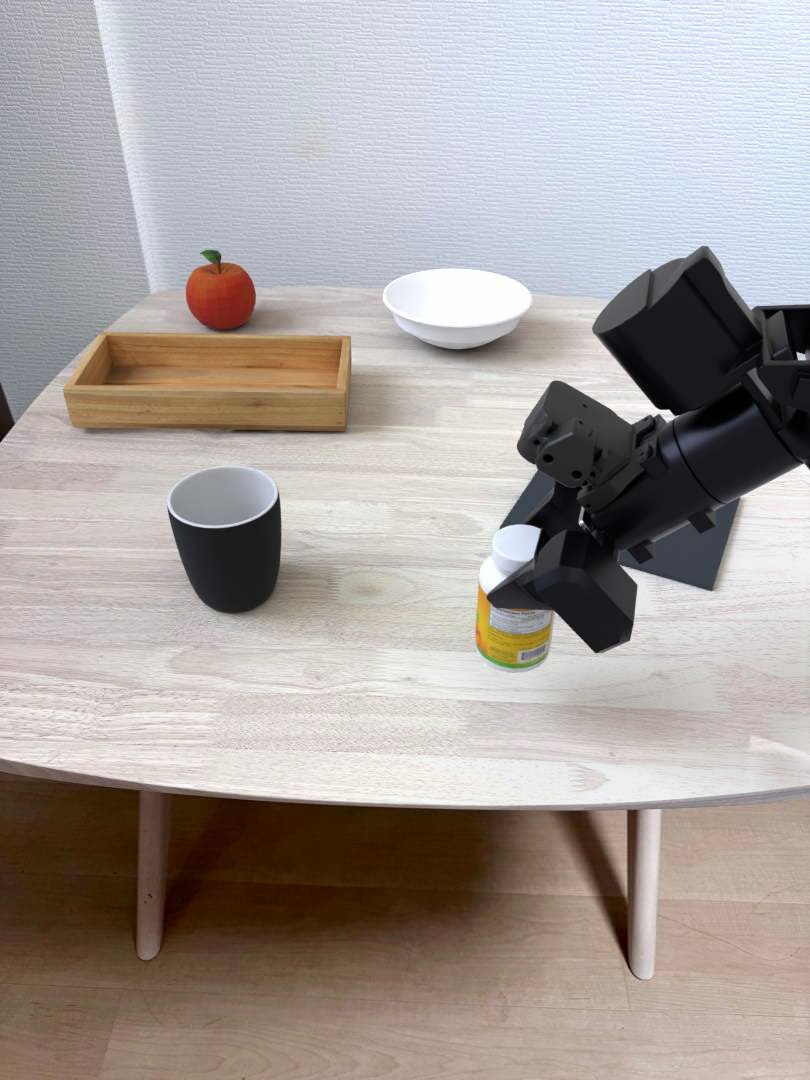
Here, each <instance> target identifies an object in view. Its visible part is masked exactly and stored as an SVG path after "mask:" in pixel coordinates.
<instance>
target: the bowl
mask: <svg viewBox="0 0 810 1080" xmlns="http://www.w3.org/2000/svg"><path fill="white" fill-rule="evenodd" d="M382 300H383V301H382V302H383V303H384V304H385V306H386V307H387V308H388V309H389V310H390V311H391V314H392V317H393V319H394V322H395V323H396V324H397V326H398V327H399V328H401V329H402V330H404V332H407V333H409V334H411V335H412V336H414V337H415V338H417V339H418V340H420V341H423V342H424V343H426V344H430V345H432V346H435V347H439V348H443V349H449V350H464V349H465V350H466V349H472V348H477V347H480V346H484V345H486V344H489V343H491V342H493V341H495V340H497V339H499V338H501V337H504V336H505V335H507V334H510V333H511V332H512V331H514V330H515V329H516V328H517V327H518V325H519V324H520V323H519V322H520V321H521V318H522V316H523V315H524V314H526V312H527V311H529V309H531V307H532V305H533V295H532V293H531V292H530V290H529V289H528V288H527V287H526V285H524V284H522V283H521V282H519V281H517V280H516V279H513V278H511V277H508V276H506V275H502V274H498V273H495V272H491V271H486V270H479V269H471V268H454V267H453V268H434V269H425V270H421V271H416V272H412V273H409V274H405V275H403V276H400V277H398V278H396V279H394V280H393V281H391V282H390V283H389V284H388V285H386V287H385V288H384V290H383V293H382Z"/></svg>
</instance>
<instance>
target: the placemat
mask: <svg viewBox="0 0 810 1080" xmlns="http://www.w3.org/2000/svg"><path fill="white" fill-rule="evenodd" d="M554 484H555V480H554V479H553V478H551V477H549V476H547V475H546V474H544V473H542V472H540V471H539V470H538V469H537V470H536V472H535V474H533V477H531V479H530V480H529V482H528V484H527V485H526V487H525V488H524V490H523V491H522V493H521V494H520V496H518V497H519V498H518V499H517V501H516V502H515V504H514V505H513V506H512V508H511V509H510V511H508V512H509V513H508V514H507V515H506V516H505V518H504V520H503V522H502V523H501V524H500V526H499V530H501V529H502V528H504V527H507V526H511V525H520V524H521V523H522V522H523V521H524V520H525V519H526V518H527V516H528V515H529V514H530V513H531V512H532V511H533V510H534V509H535V508H536V507H537V506H538V504H539V503H540V502H541V501H542V500H543V499H544V498H545V497H546V495H547V494H548V493H549V492H550V491H551V490H552V488H553V487H554ZM740 499H741V497H739V498H737V499H735V500H733V501H731V502H730V503H728V504H726V505H724V506H722V507H720V508H718V509H716V526H715V527H713V528H711V529H709V530H707V531H705V532H703V533H701V534H700V533H699V532H698V531H697V530H696V529H695V528H694V526H693V525H692V524H691V523H689V524H687V525H685V526H684V527H682V528H680V529H678V530H676V531H674V532H672V533H670V534H668V535H666V536H664V537H662V538H660V539H659V540H657V541H655V552H654V558H652V559H650V560H648V561H646V562H644V563H642V564H639V563H638V562H637V561H636V560H635V559H634V558H633V556H632V555H631V554H630V553H629V552H628V551H627V550H625V551H623V552H621V551H620V554H619V561H618V564H619V565H620V566H623V567H626V568H631V569H634V570H637V571H641V572H644V573H648V574H651V575H655V576H659V577H662V578H665V579H668V580H672V581H675V582H679V583H682V584H685V585H689V586H693V587H696V588H700V589H704V590H707V591H710V592H712V591H713V588H714V585H715V582H716V579H717V576H718V572H719V569H720V566H721V562H722V560H723V556H724V553H725V550H726V546H727V542H728V539H729V535H730V533H731V530H732V526H733V523H734V520H735V516H736V513H737V510H738V506H739V504H740V501H741V500H740Z"/></svg>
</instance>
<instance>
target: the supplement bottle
mask: <svg viewBox="0 0 810 1080" xmlns="http://www.w3.org/2000/svg"><path fill="white" fill-rule="evenodd" d="M540 530H541V529H539V528H537V527H534V526H530V525H511V526H507V527H504V528H502V529H501V530H500V529H499V530H498V531H497V532H496V533H495V534H494V535H493V538H492V540H491V541H492V542H491V554H490V555H489V556H488V557H487V558H486V559H485V560H484V561H483V563H482V564H481V566H480V569H479V576H478V585H477V586H478V589H477V601H476V602H477V603H476V614H475V615H476V619H475V633H474V634H475V635H474V646H475V650H476V652H477V655H478V656H479V658H480V659H481V660H482V661H483V662H484V663H485V664H486V665H488V666H489V667H491V668H493V669H495V670H498V671H501V672H505V673H510V674H511V673H512V674H515V673H516V674H517V673H519V674H520V673H527V672H530V671H533V670H535V669H537V668H539V667H540V666H541V665H543V664H544V663H545V661H546V660H547V659H548V657H549V655H550V651H551V646H552V645H551V644H552V639H553V631H554V623H555V615H556V612H555V611H551V610H529V609H502V608H495V607H494V606H493V605H492V604H491V603H490V602H489V601H488V600H487V599H486V597H487V594H488V593H489V592H490V591H491V590H492V589H493V588H495V587H496V586H497V585H498V584H499V583H500V582H502V581H503V580H504V579H506V578H507V577H508V576H510V575H511V574H512V573H514V572H515V571H516V570H518V569H519V568H520V567H522V566H523V565H524V564H526V563H527V562H528V561H530V560H531V559H532V558H533V557H534V552H535V549H536V545H537V541H538V537H539V534H540Z"/></svg>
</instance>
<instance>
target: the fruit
mask: <svg viewBox="0 0 810 1080" xmlns="http://www.w3.org/2000/svg"><path fill="white" fill-rule="evenodd" d="M199 254H200V255H202V256H203V257H204V258H205V259H206V260H207V261H208V262H210V263H209V264H206V265H201V266H198V267H196V268H194V269H193V271H192V272H191V274H190V275H189V276H188V278H187V280H186V281H187V282H186V286H185V301H186V303H187V307H188V309H189V310H188V311H190V313H191V315H192V316H193V318H195V319H196V320H197V321H198V322H199V323H200V324H201V325H203V326H205V327H207V328H210V329H212V330H217V331H218V330H219V331H226V330H232V329H236V328H237V327H240V326H242V325H243V324H244V323H246V322H247V321H248V320H249V318H250V317H251V316H252V314H253V312H254V309H255V306H256V303H257V293H256V288H255V286H254V285H255V284H254V282H253V280H252V278H251V276H250V274H249V273H248V272H247V270H245V268H243V267H242V266H240V265H239V264H236V263H233V262H222V257H223V256H222V254H221V252H220V251H219V250H217V249H216V250H215V249H205V250H203V251H200V252H199Z"/></svg>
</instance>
